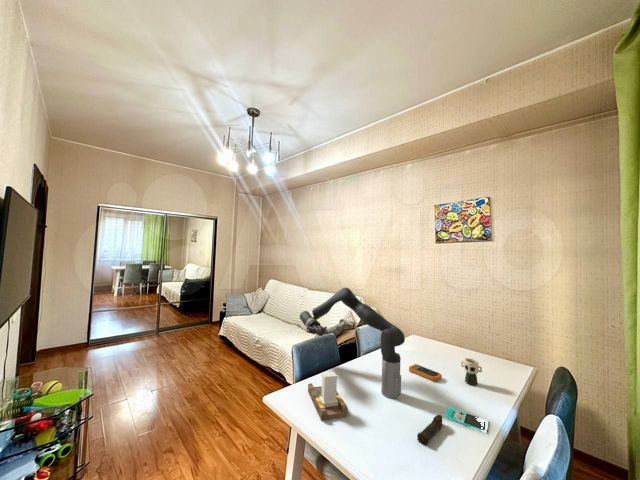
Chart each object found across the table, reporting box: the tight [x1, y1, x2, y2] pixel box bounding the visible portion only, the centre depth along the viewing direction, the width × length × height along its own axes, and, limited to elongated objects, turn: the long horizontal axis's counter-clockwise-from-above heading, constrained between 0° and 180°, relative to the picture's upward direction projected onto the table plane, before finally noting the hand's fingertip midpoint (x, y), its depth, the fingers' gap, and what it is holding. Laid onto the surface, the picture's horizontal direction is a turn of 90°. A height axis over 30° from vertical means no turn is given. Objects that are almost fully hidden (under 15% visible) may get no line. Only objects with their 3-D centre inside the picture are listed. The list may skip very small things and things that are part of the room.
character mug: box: [460, 357, 483, 386], centre depth 150 cm, size 11×7×13 cm, turn 43°
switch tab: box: [319, 371, 338, 407], centre depth 121 cm, size 6×7×13 cm
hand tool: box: [417, 414, 443, 446], centre depth 106 cm, size 19×4×5 cm, turn 131°
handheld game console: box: [446, 406, 485, 430], centre depth 116 cm, size 10×16×1 cm, turn 54°
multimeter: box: [408, 363, 443, 383], centre depth 159 cm, size 9×18×3 cm, turn 38°
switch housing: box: [307, 382, 349, 422], centre depth 124 cm, size 24×12×4 cm, turn 16°
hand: (321, 334), depth 144 cm, fingers closed
